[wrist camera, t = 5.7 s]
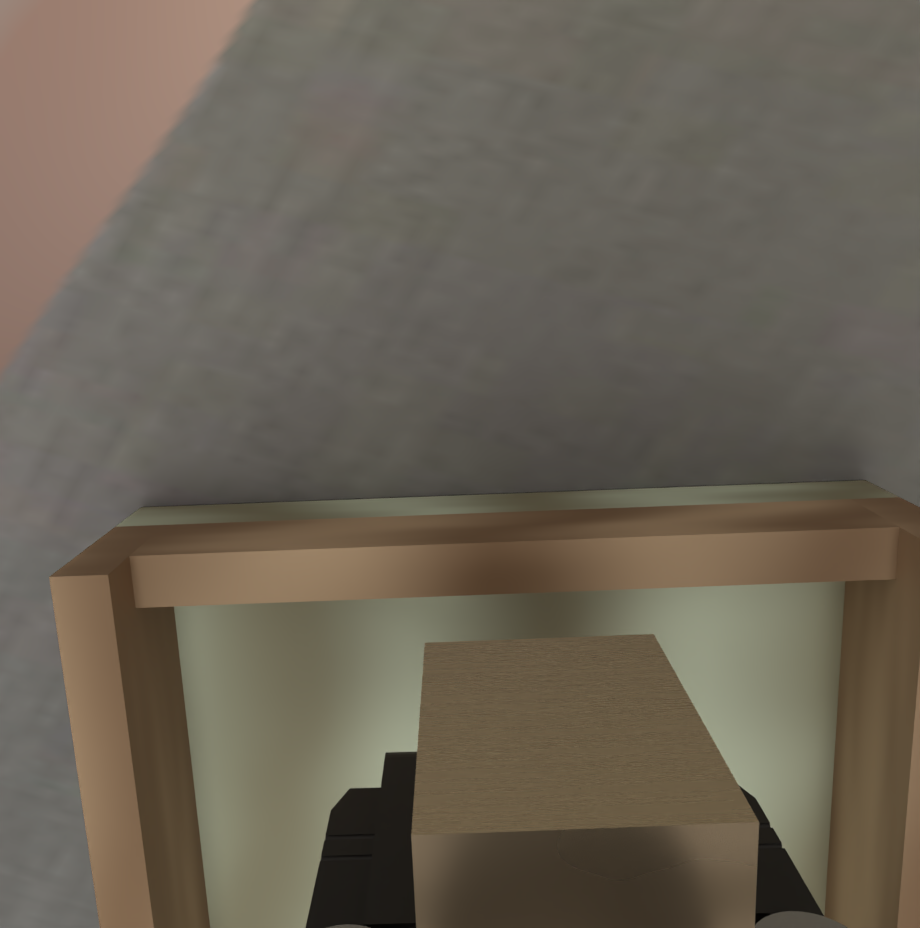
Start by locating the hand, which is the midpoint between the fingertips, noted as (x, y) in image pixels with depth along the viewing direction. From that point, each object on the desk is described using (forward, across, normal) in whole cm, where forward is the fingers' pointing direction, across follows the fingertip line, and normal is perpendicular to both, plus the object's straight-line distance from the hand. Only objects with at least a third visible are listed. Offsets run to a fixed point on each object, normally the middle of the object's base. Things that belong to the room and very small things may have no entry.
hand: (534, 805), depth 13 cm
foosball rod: (+5, 0, +6) cm, 8 cm away
